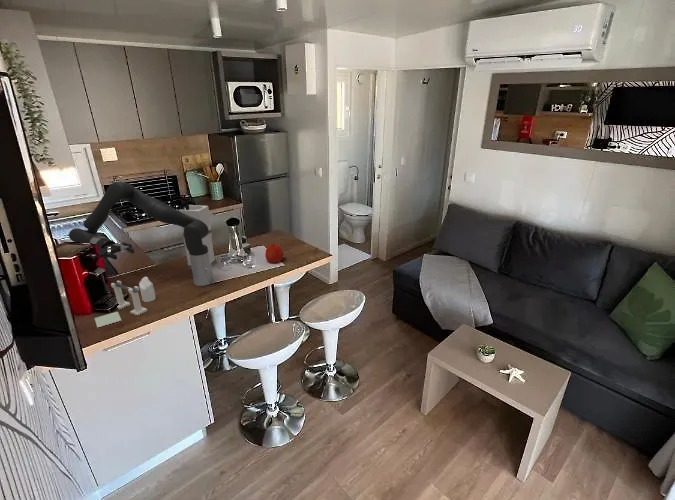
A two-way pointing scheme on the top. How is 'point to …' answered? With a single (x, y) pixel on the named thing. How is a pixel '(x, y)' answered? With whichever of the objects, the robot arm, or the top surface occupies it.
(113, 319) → the mat
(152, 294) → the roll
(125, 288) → the rod
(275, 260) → the apple
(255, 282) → the top surface
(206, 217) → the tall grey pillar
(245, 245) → the medicine bottle
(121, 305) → the hurdle posts
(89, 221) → the robot arm
